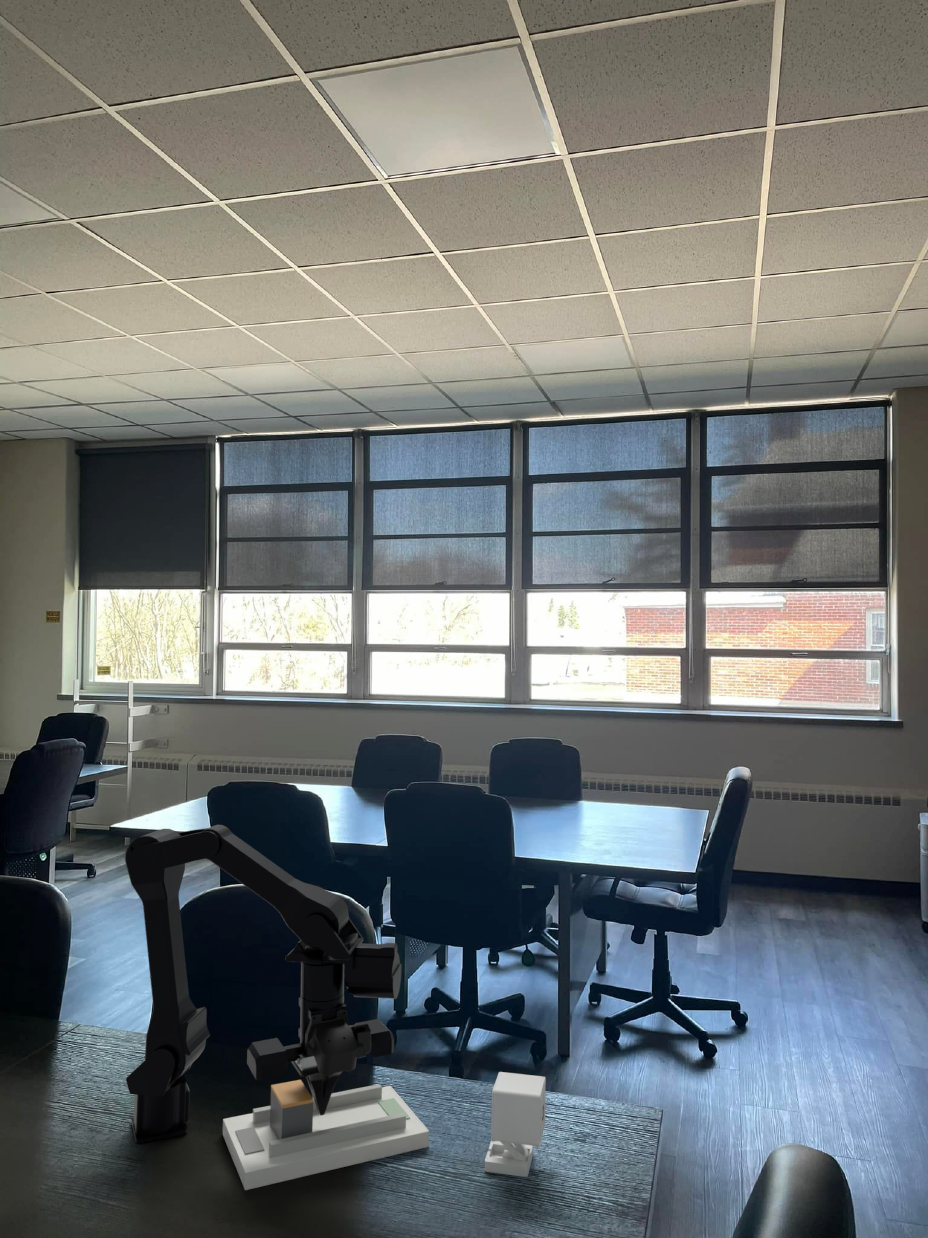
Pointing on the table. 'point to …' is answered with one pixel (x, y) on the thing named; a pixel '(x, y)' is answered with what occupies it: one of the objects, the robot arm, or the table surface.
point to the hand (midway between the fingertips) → (321, 1114)
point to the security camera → (515, 1122)
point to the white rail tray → (325, 1137)
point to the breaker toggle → (291, 1109)
